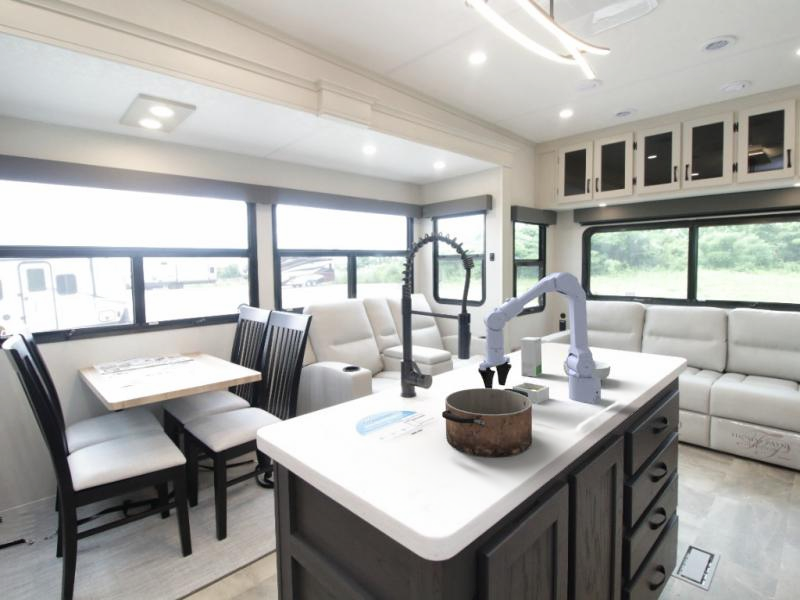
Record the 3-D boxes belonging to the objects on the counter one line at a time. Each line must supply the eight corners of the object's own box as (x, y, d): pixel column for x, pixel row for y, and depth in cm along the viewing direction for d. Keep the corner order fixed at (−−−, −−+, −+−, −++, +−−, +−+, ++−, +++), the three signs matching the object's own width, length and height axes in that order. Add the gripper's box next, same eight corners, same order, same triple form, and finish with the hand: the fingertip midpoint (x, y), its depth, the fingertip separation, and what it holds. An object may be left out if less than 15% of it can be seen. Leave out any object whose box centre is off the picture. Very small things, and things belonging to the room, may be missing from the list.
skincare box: (535, 377, 168) (535, 340, 167) (520, 375, 172) (519, 338, 171) (542, 373, 175) (542, 337, 174) (527, 371, 179) (526, 336, 178)
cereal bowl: (618, 386, 153) (618, 368, 152) (573, 387, 153) (573, 369, 153) (597, 375, 170) (597, 358, 169) (557, 376, 170) (557, 359, 170)
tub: (549, 399, 139) (549, 386, 139) (536, 405, 134) (536, 391, 133) (525, 394, 146) (525, 381, 145) (512, 399, 140) (512, 386, 140)
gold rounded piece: (543, 398, 139) (542, 389, 139) (538, 400, 137) (538, 391, 137) (534, 396, 142) (534, 387, 141) (530, 398, 140) (530, 389, 139)
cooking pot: (487, 415, 128) (487, 381, 127) (555, 435, 111) (555, 396, 110) (418, 444, 108) (417, 404, 107) (488, 473, 91) (488, 426, 90)
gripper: (497, 343, 145) (497, 380, 146) (471, 349, 135) (472, 389, 136) (514, 345, 140) (515, 384, 141) (489, 352, 130) (490, 394, 131)
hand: (495, 387), depth 138 cm, fingers open, 7 cm apart
